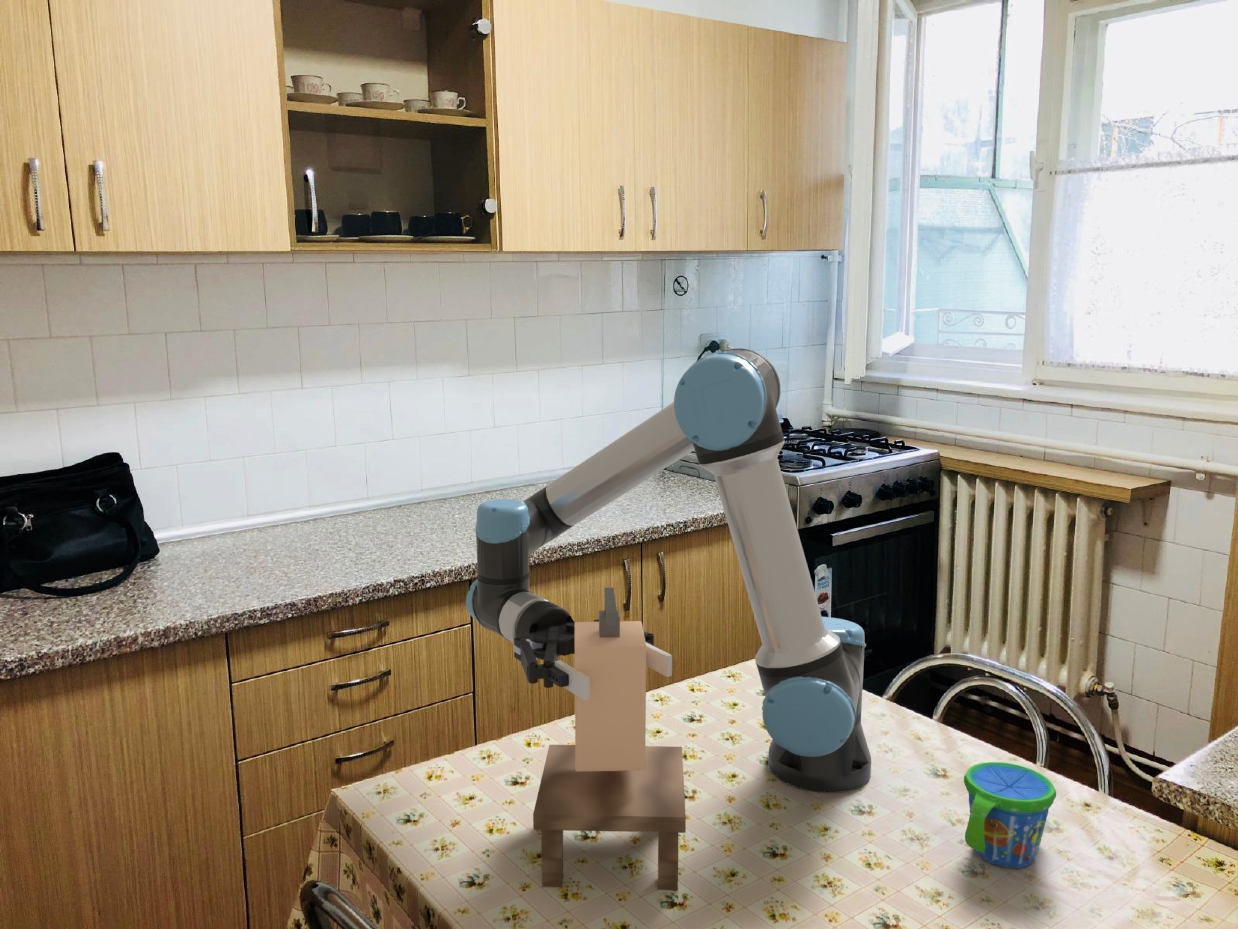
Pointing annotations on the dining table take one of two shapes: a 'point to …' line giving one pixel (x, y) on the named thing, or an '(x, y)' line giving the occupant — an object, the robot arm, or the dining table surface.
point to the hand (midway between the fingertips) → (629, 677)
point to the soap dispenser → (611, 692)
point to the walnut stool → (611, 806)
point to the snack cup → (1007, 812)
